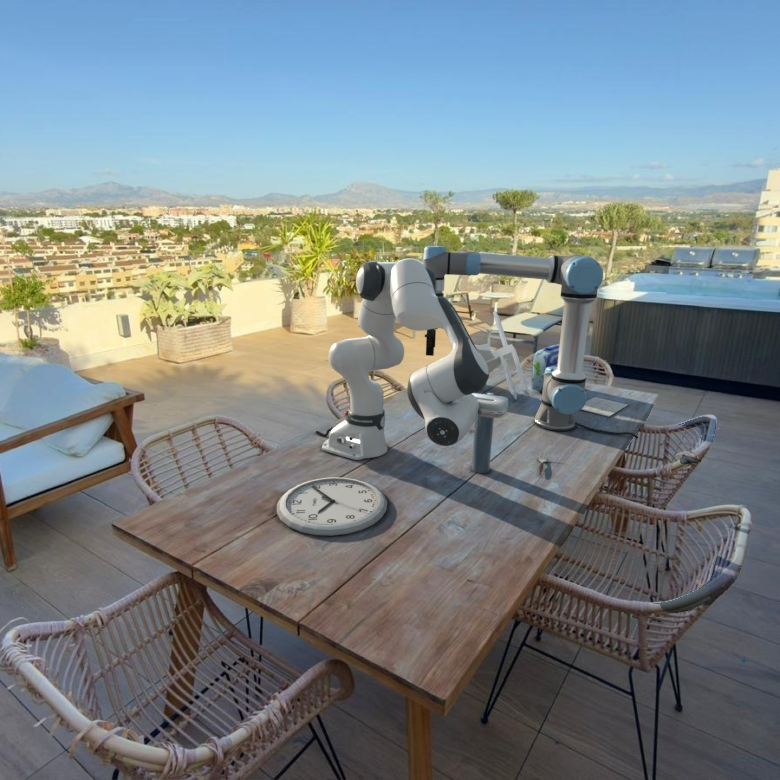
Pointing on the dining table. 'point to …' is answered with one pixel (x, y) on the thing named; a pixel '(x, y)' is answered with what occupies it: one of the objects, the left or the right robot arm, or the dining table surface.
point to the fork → (542, 461)
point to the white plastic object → (503, 358)
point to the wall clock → (331, 506)
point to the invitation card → (603, 406)
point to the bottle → (482, 444)
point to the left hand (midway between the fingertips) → (472, 393)
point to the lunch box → (543, 365)
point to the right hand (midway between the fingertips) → (430, 351)
